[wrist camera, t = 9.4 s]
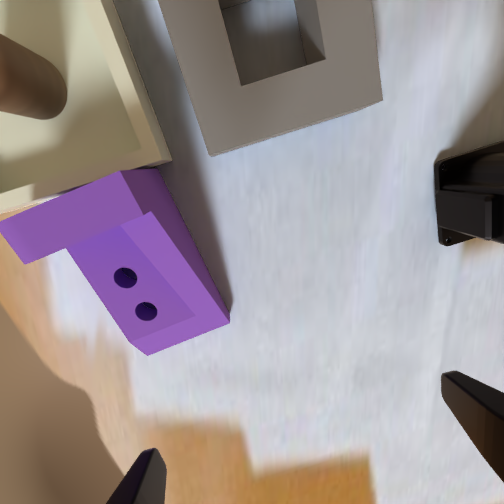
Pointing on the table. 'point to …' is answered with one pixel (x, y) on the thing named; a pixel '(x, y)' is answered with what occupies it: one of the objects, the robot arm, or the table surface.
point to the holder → (279, 86)
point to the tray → (76, 104)
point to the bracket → (128, 255)
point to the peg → (29, 83)
